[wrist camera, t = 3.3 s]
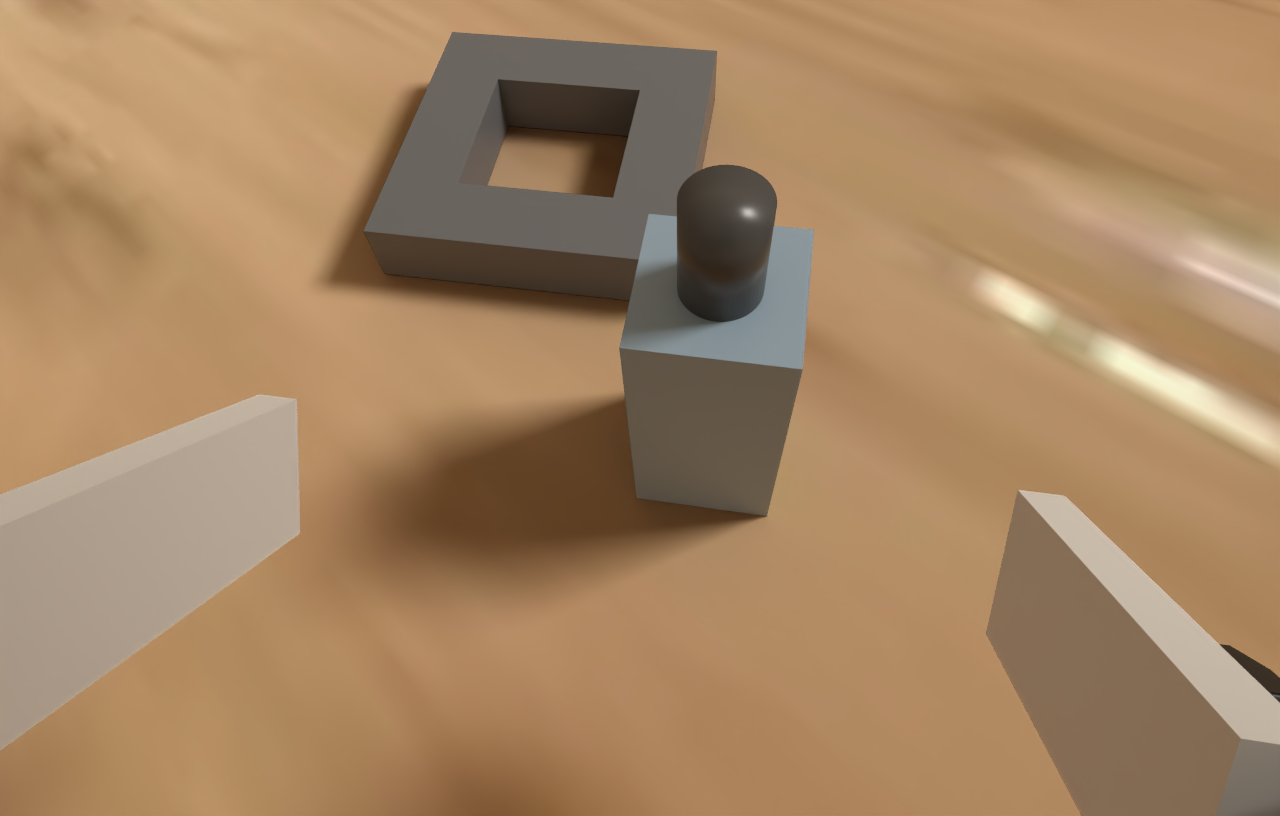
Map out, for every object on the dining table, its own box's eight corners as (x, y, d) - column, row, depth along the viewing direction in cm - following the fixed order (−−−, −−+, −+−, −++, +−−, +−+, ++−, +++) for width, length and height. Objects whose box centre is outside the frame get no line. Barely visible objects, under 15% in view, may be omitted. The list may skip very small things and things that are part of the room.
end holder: (714, 98, 37) (716, 51, 35) (677, 305, 31) (677, 263, 29) (464, 79, 39) (452, 32, 36) (384, 273, 33) (363, 231, 31)
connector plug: (777, 403, 29) (832, 139, 19) (766, 516, 27) (822, 289, 16) (656, 388, 29) (644, 124, 19) (636, 497, 27) (610, 267, 17)
